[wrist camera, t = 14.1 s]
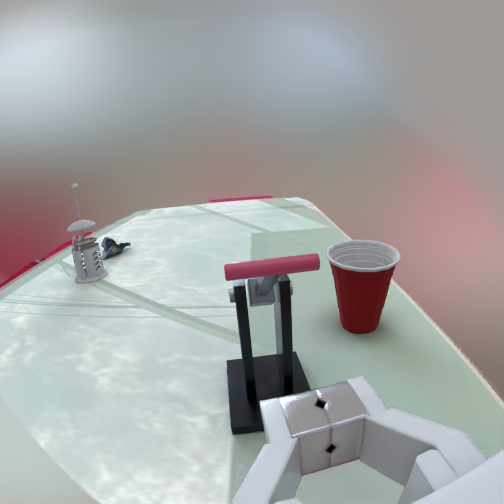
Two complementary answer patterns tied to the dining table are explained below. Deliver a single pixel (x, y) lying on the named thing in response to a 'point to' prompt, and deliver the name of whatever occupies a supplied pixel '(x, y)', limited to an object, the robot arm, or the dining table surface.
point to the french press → (86, 253)
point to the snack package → (111, 247)
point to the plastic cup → (361, 281)
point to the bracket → (262, 362)
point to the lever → (268, 274)
